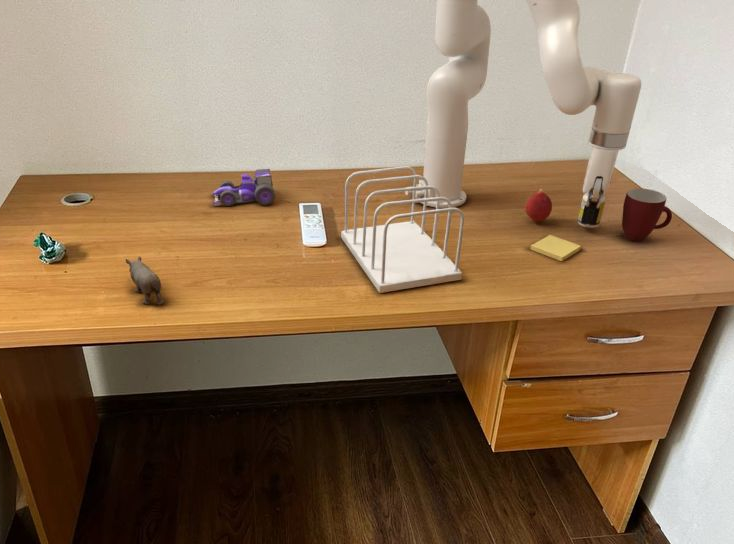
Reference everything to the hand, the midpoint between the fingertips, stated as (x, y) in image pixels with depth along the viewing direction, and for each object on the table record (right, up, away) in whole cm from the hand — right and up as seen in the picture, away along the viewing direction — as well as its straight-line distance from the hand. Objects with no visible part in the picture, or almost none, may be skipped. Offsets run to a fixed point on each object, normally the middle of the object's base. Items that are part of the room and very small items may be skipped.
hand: (589, 217), depth 149 cm
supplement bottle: (0, -1, +1) cm, 2 cm away
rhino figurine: (-94, -18, -21) cm, 98 cm away
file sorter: (-44, -11, -10) cm, 46 cm away
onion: (-10, 0, +5) cm, 12 cm away
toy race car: (-80, +7, +15) cm, 82 cm away
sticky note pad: (-10, -8, -6) cm, 14 cm away
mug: (+11, -5, -1) cm, 12 cm away
